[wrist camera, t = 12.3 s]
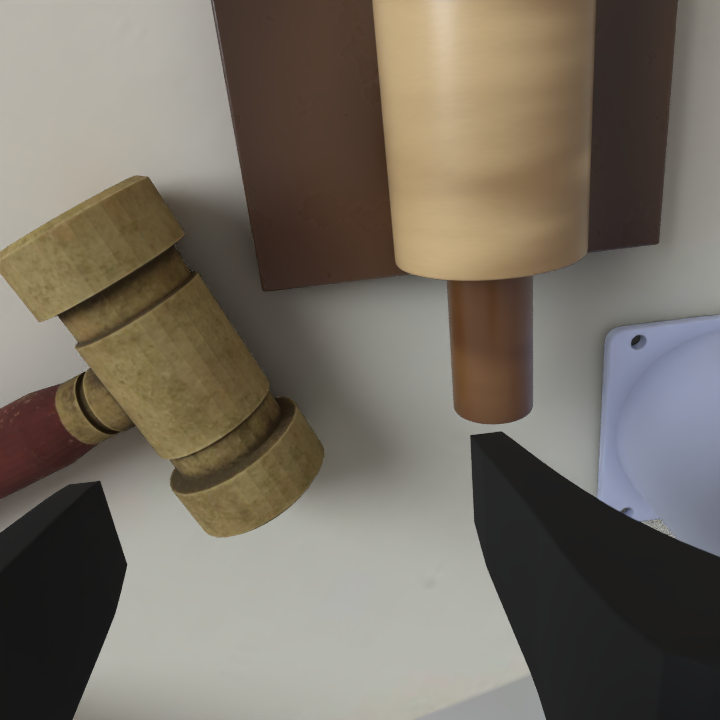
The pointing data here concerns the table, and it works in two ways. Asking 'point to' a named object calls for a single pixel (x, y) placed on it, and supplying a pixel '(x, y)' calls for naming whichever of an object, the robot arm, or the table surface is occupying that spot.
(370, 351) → the table surface
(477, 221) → the rolling pin
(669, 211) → the table surface
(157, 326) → the gavel
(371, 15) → the pastry board
